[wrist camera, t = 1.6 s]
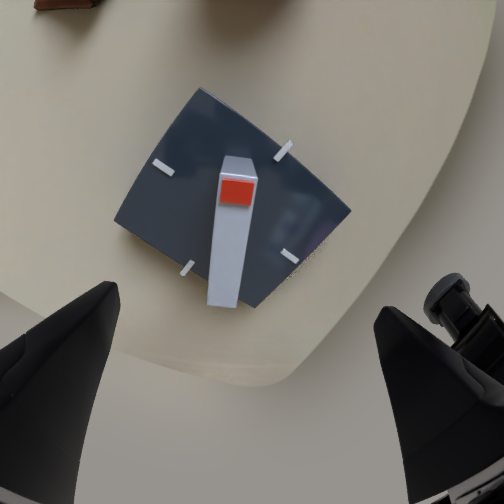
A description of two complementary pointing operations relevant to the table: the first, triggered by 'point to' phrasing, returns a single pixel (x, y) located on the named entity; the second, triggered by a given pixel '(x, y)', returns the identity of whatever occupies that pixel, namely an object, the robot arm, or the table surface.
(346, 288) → the table surface
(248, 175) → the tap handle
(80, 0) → the sunglasses case
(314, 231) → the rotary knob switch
